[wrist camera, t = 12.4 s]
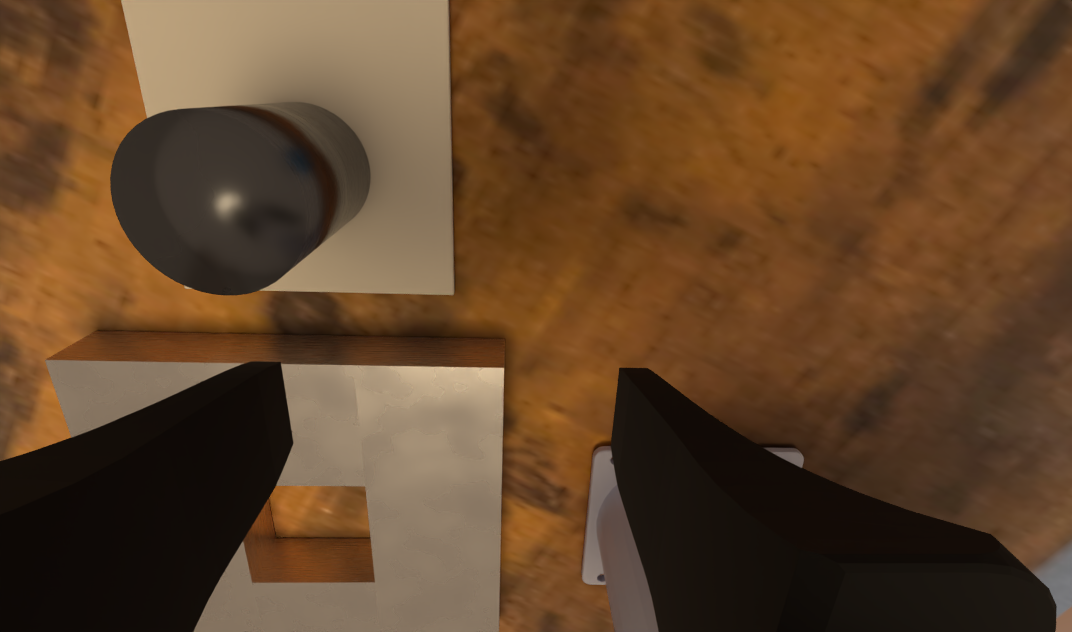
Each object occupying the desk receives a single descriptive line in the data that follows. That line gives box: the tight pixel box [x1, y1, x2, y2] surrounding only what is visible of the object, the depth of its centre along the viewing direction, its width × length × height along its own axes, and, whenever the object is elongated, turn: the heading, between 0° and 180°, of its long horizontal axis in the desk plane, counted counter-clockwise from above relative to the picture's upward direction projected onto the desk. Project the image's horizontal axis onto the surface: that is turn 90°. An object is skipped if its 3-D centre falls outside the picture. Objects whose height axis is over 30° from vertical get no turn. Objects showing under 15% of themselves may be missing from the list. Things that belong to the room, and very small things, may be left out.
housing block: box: [45, 331, 505, 632], centre depth 23 cm, size 16×16×2 cm
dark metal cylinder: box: [110, 102, 371, 295], centre depth 16 cm, size 4×4×6 cm
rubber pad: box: [121, 0, 455, 295], centre depth 19 cm, size 10×10×1 cm
